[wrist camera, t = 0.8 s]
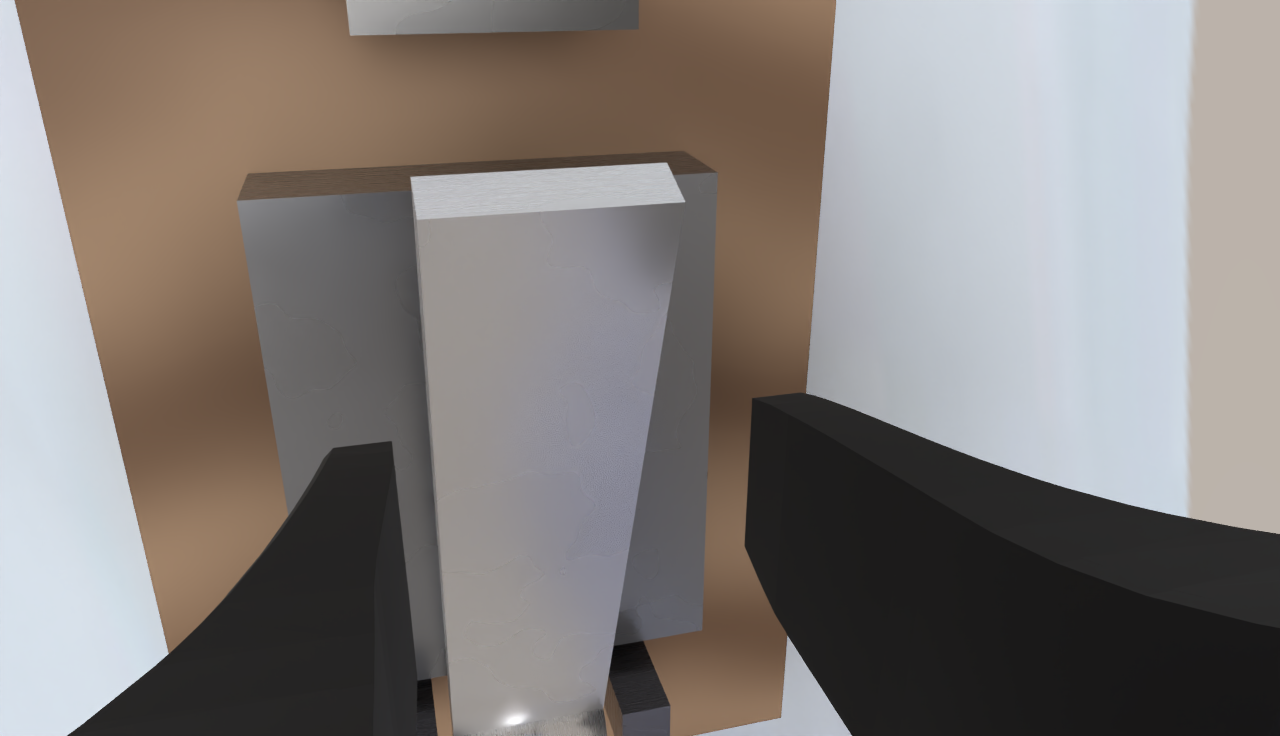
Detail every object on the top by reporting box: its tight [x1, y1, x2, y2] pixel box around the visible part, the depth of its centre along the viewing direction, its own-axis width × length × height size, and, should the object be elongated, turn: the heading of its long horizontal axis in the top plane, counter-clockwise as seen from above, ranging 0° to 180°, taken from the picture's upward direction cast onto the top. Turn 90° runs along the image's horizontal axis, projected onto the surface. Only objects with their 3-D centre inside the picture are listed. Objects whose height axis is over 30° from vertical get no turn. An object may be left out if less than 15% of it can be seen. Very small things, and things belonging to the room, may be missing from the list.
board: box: [15, 0, 836, 736], centre depth 21 cm, size 20×14×2 cm
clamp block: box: [237, 0, 718, 736], centre depth 18 cm, size 16×8×4 cm, turn 179°
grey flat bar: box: [410, 163, 685, 736], centre depth 16 cm, size 14×3×1 cm, turn 179°
